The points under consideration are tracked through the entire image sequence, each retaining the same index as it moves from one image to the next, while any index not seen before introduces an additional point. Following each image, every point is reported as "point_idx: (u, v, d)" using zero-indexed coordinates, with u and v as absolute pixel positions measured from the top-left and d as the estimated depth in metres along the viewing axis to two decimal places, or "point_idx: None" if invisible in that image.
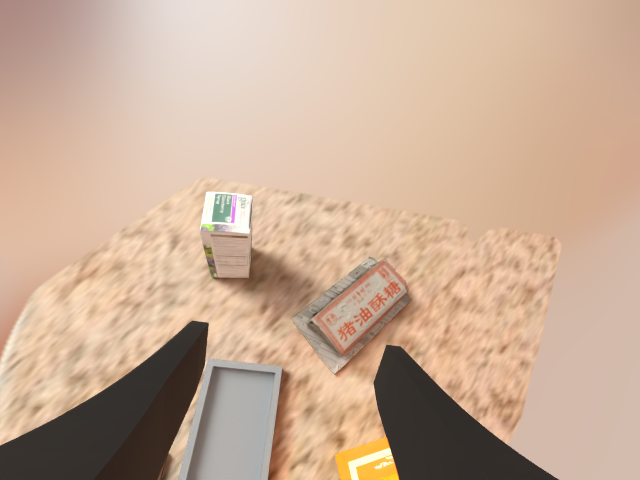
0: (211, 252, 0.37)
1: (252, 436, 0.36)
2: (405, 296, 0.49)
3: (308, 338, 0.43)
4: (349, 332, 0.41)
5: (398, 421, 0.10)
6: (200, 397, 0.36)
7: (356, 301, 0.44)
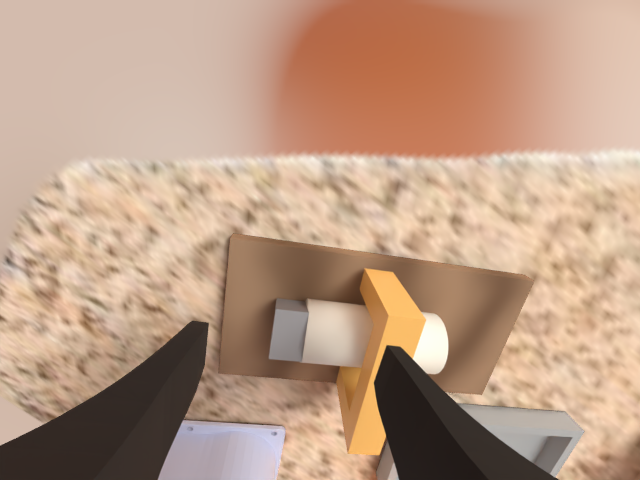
0: None
1: None
2: None
3: None
4: None
5: (398, 421, 0.10)
6: (539, 430, 0.26)
7: None
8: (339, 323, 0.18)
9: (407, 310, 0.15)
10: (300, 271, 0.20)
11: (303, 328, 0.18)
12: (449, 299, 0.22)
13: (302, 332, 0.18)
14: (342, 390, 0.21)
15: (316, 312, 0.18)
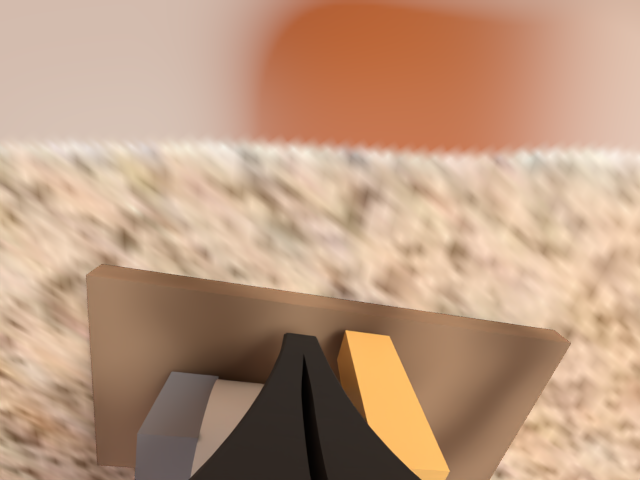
0: None
1: None
2: None
3: None
4: None
5: None
6: None
7: None
8: None
9: (413, 444, 0.08)
10: (209, 326, 0.13)
11: (189, 458, 0.11)
12: (442, 367, 0.14)
13: (188, 463, 0.11)
14: None
15: (213, 433, 0.11)
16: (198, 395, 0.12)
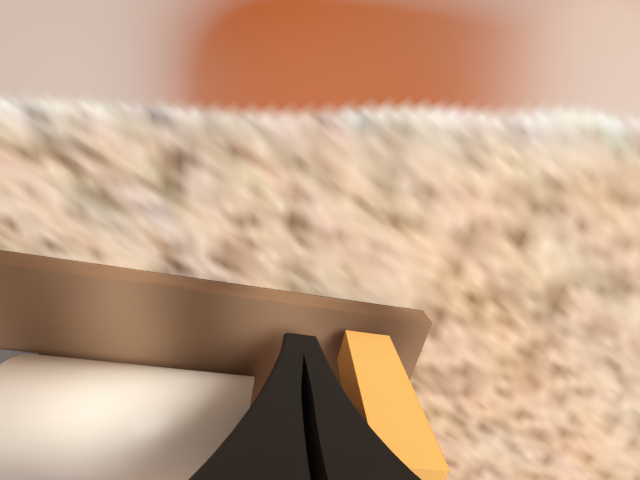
0: None
1: None
2: None
3: None
4: None
5: None
6: None
7: None
8: (23, 418, 0.10)
9: (413, 444, 0.08)
10: (17, 303, 0.12)
11: None
12: None
13: None
14: None
15: None
16: None
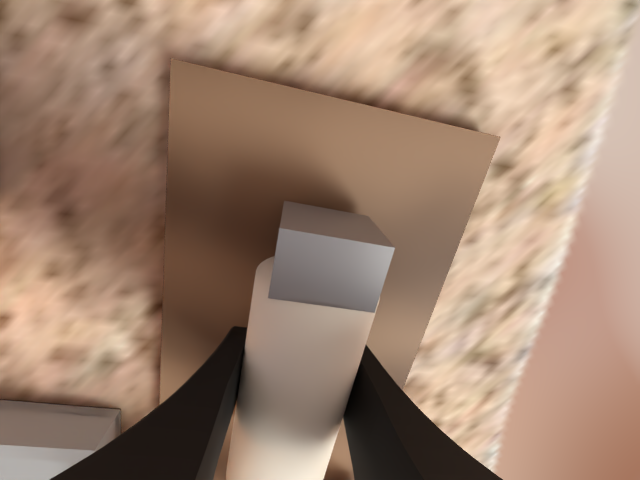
0: None
1: None
2: None
3: None
4: None
5: (355, 418, 0.10)
6: None
7: None
8: (346, 369, 0.09)
9: None
10: (413, 254, 0.12)
11: (342, 302, 0.08)
12: (334, 449, 0.15)
13: (334, 300, 0.08)
14: None
15: (369, 322, 0.09)
16: None
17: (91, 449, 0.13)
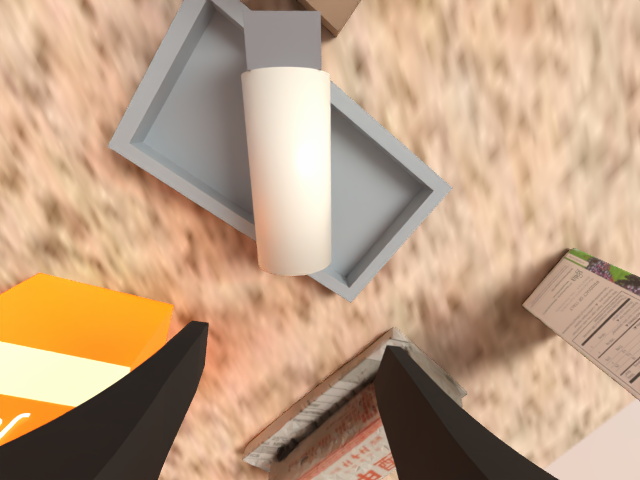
0: None
1: None
2: None
3: None
4: None
5: (398, 421, 0.10)
6: (396, 143, 0.16)
7: (351, 468, 0.22)
8: (313, 119, 0.13)
9: None
10: None
11: (297, 63, 0.12)
12: None
13: (291, 63, 0.12)
14: None
15: (321, 83, 0.12)
16: None
17: None
